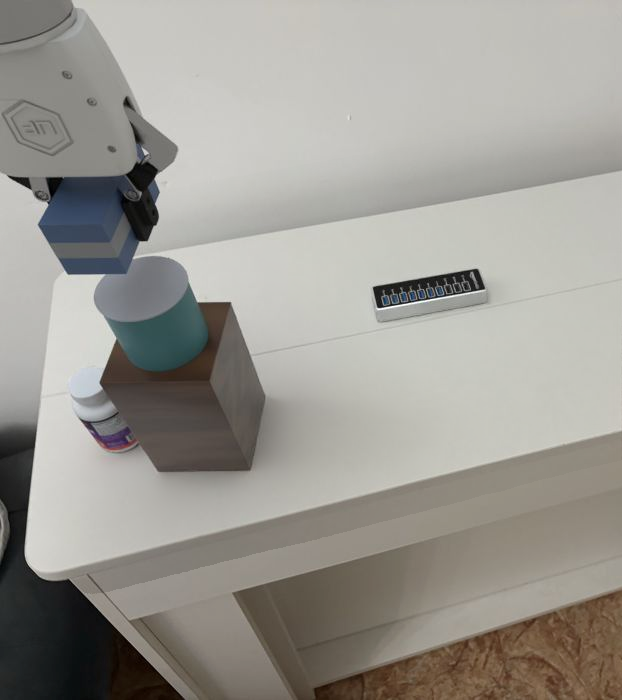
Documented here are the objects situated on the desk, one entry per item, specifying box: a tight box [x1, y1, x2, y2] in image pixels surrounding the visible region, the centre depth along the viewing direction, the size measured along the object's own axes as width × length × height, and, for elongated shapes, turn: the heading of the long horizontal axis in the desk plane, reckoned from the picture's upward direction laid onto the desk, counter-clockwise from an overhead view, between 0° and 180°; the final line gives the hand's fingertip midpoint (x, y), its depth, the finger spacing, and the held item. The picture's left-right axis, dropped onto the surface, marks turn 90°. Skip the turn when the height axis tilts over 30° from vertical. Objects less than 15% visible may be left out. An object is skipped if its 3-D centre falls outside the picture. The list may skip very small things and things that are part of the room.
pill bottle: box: [67, 366, 139, 453], centre depth 76 cm, size 5×5×10 cm
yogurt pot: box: [93, 255, 209, 372], centre depth 65 cm, size 8×8×7 cm
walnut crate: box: [99, 301, 266, 473], centre depth 74 cm, size 10×10×16 cm
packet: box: [37, 144, 161, 276], centre depth 55 cm, size 10×4×5 cm, turn 1°
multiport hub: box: [370, 267, 488, 323], centre depth 92 cm, size 4×14×2 cm, turn 104°
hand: (114, 228), depth 57 cm, fingers closed on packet, 4 cm apart
